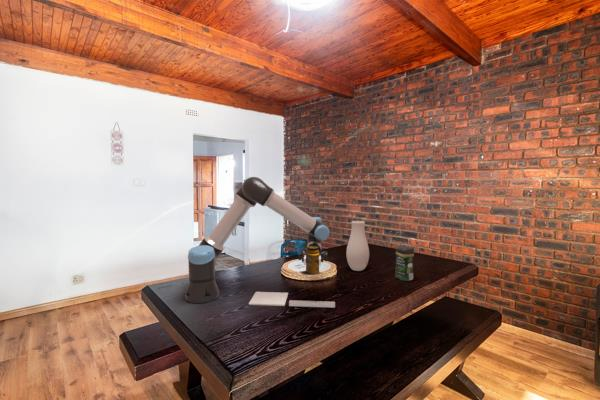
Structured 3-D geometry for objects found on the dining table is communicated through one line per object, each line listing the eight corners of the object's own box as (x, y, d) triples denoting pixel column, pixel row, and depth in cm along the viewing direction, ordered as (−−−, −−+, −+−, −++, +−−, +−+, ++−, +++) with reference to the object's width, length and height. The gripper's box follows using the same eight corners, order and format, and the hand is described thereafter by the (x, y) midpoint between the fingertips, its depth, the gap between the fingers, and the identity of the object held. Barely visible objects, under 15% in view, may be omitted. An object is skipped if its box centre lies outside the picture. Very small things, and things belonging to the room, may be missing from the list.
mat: (248, 304, 132) (248, 303, 132) (255, 292, 146) (255, 291, 146) (284, 305, 131) (284, 304, 131) (288, 293, 145) (288, 292, 145)
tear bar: (289, 306, 131) (289, 301, 131) (289, 304, 132) (289, 300, 132) (334, 307, 129) (334, 303, 129) (334, 306, 131) (334, 301, 131)
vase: (341, 268, 187) (342, 220, 185) (359, 265, 193) (360, 219, 191) (354, 274, 175) (355, 223, 173) (373, 271, 180) (374, 222, 178)
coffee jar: (392, 277, 170) (393, 245, 168) (402, 275, 173) (403, 243, 172) (405, 282, 161) (406, 248, 160) (415, 280, 164) (416, 247, 163)
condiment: (323, 273, 135) (323, 247, 135) (307, 276, 131) (307, 249, 130) (313, 269, 142) (314, 244, 141) (298, 272, 137) (298, 246, 136)
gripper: (332, 257, 153) (333, 271, 130) (295, 256, 155) (290, 269, 132) (332, 243, 153) (334, 254, 130) (295, 242, 154) (290, 253, 131)
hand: (312, 262), depth 131 cm, fingers closed on condiment, 6 cm apart
